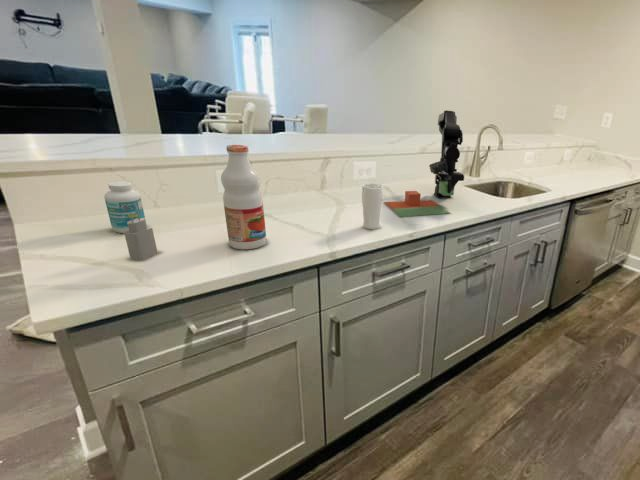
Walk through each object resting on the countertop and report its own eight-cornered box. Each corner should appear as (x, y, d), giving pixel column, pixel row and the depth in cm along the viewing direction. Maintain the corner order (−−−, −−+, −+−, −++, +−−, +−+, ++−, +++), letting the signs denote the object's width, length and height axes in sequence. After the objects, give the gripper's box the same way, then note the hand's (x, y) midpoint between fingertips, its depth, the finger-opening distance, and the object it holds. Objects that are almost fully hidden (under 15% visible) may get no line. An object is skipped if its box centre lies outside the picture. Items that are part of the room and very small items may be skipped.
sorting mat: (431, 200, 174) (431, 199, 174) (449, 213, 161) (449, 212, 161) (384, 202, 163) (384, 202, 162) (400, 217, 149) (400, 216, 149)
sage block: (448, 192, 173) (449, 181, 171) (453, 195, 169) (454, 184, 168) (438, 192, 170) (439, 181, 169) (443, 195, 167) (444, 184, 165)
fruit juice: (235, 236, 114) (223, 141, 104) (270, 238, 117) (262, 145, 106) (223, 249, 106) (209, 147, 95) (261, 250, 108) (251, 151, 98)
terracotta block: (415, 201, 169) (416, 190, 167) (419, 205, 165) (420, 194, 163) (404, 202, 166) (405, 191, 164) (409, 205, 162) (409, 194, 160)
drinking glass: (376, 232, 132) (377, 190, 126) (357, 228, 133) (358, 186, 127) (384, 226, 138) (385, 185, 132) (367, 222, 139) (367, 182, 133)
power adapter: (128, 259, 95) (117, 213, 90) (147, 250, 100) (137, 207, 95) (141, 261, 95) (130, 215, 90) (159, 252, 100) (149, 209, 95)
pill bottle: (109, 234, 105) (96, 187, 100) (117, 225, 111) (105, 179, 106) (144, 233, 109) (133, 187, 103) (150, 224, 114) (140, 180, 109)
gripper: (423, 151, 166) (420, 186, 172) (443, 160, 152) (439, 198, 158) (445, 152, 172) (442, 185, 178) (466, 161, 158) (462, 197, 164)
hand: (446, 191), depth 170 cm, fingers closed on sage block, 5 cm apart
